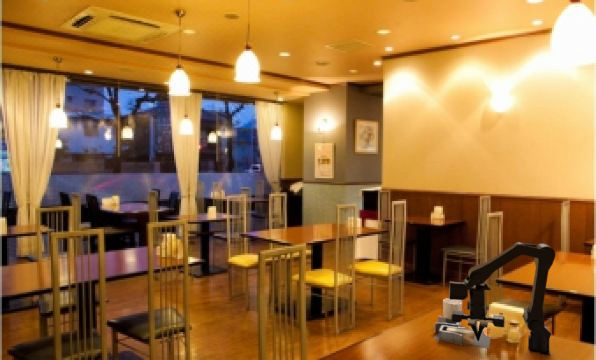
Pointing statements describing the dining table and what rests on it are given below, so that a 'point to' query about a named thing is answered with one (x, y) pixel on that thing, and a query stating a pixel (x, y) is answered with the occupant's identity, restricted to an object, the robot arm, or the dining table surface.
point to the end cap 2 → (450, 335)
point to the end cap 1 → (445, 323)
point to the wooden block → (464, 334)
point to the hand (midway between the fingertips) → (478, 340)
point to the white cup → (451, 307)
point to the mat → (475, 340)
